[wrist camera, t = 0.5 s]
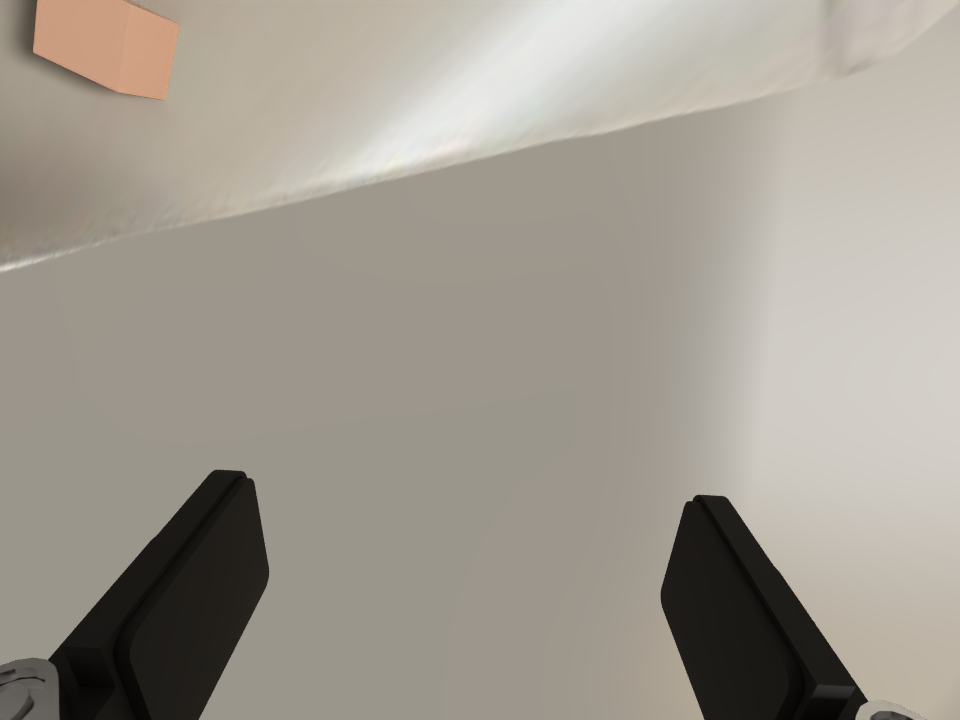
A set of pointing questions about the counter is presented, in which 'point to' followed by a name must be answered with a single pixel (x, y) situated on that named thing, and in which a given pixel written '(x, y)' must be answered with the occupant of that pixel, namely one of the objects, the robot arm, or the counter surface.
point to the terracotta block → (108, 43)
